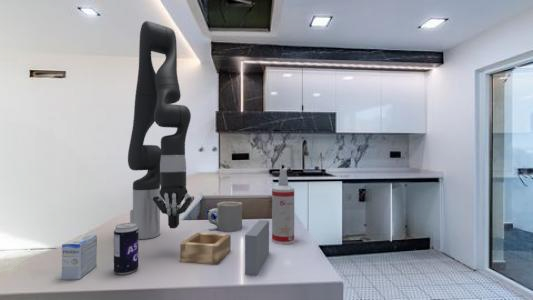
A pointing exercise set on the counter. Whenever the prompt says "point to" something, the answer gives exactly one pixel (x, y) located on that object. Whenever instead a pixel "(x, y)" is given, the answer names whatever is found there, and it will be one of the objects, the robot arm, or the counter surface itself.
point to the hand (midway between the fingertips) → (173, 227)
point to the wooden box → (205, 248)
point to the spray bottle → (283, 211)
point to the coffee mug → (227, 216)
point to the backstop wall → (256, 247)
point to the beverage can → (125, 248)
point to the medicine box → (79, 256)
